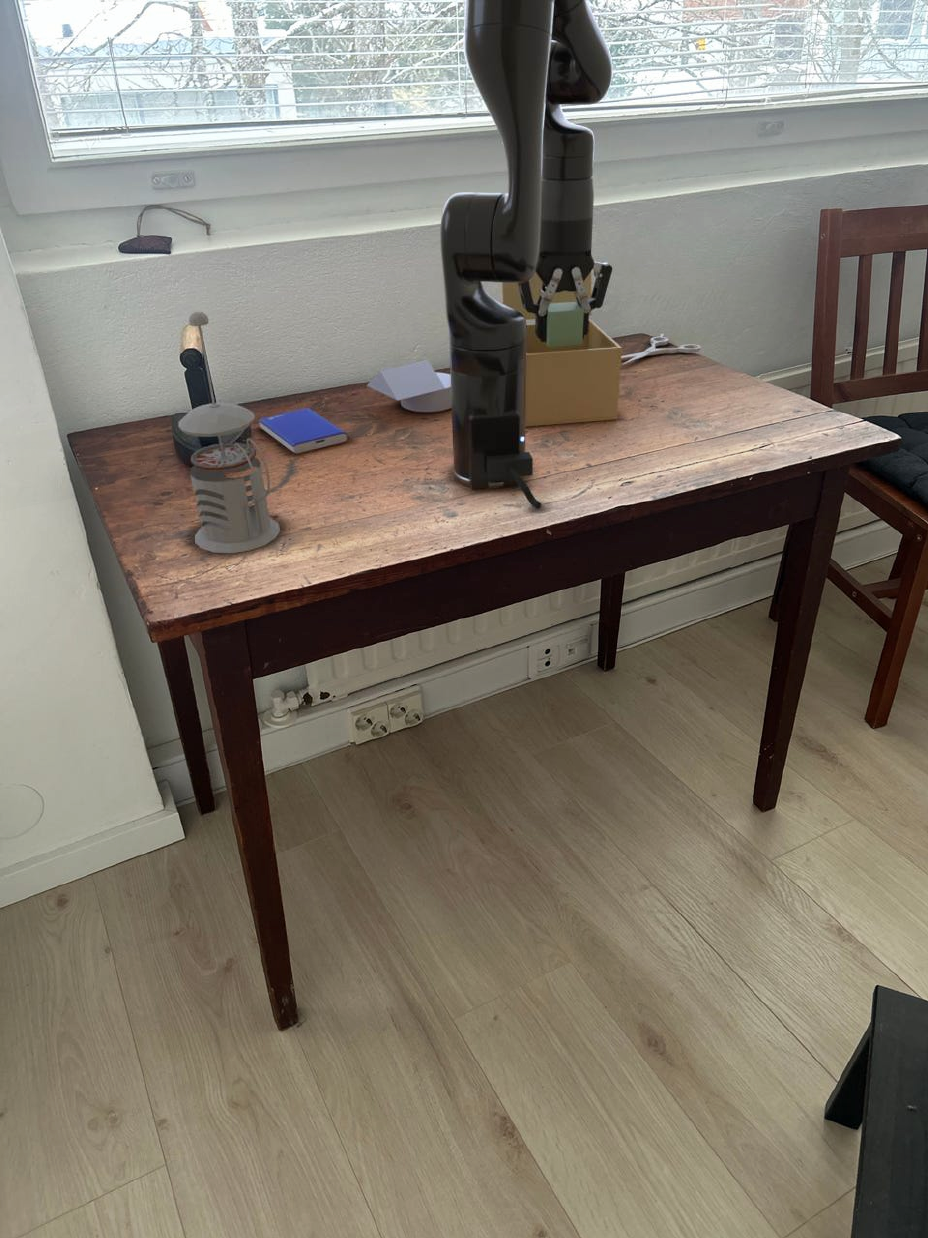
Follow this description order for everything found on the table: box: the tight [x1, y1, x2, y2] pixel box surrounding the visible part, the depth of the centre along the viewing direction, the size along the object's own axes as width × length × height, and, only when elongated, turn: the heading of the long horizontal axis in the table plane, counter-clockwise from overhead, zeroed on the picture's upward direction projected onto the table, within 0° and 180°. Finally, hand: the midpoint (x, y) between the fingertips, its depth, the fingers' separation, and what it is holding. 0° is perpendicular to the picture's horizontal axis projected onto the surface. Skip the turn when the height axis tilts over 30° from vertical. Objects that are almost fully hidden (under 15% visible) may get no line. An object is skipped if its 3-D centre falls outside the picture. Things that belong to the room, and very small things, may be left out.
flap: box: [501, 271, 592, 321], centre depth 137 cm, size 8×14×1 cm
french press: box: [177, 311, 281, 554], centre depth 96 cm, size 10×12×25 cm
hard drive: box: [258, 407, 348, 455], centre depth 129 cm, size 2×8×12 cm
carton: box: [525, 319, 623, 428], centre depth 135 cm, size 16×14×10 cm
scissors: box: [621, 333, 701, 366], centre depth 158 cm, size 11×1×20 cm
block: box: [545, 302, 584, 347], centre depth 130 cm, size 5×5×5 cm
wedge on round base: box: [366, 359, 452, 413], centre depth 138 cm, size 9×7×13 cm
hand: (561, 338), depth 131 cm, fingers closed on block, 5 cm apart
